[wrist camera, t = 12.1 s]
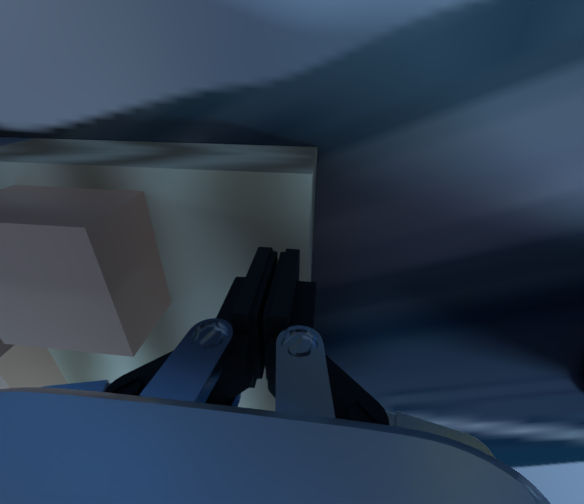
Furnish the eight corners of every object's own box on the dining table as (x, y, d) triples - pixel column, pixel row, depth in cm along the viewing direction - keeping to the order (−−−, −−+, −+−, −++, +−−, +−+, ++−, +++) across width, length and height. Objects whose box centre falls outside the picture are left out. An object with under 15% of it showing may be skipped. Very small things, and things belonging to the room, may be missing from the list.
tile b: (143, 191, 13) (84, 227, 10) (171, 302, 16) (133, 356, 13) (13, 185, 13) (-81, 217, 10) (64, 293, 16) (4, 343, 13)
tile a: (-8, 363, 17) (-62, 357, 18) (37, 424, 20) (-10, 418, 21) (70, 297, 22) (27, 293, 23) (96, 353, 25) (58, 349, 26)
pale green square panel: (317, 146, 16) (312, 174, 11) (306, 374, 25) (301, 436, 21) (36, 138, 17) (-62, 159, 13) (123, 355, 26) (82, 409, 22)
